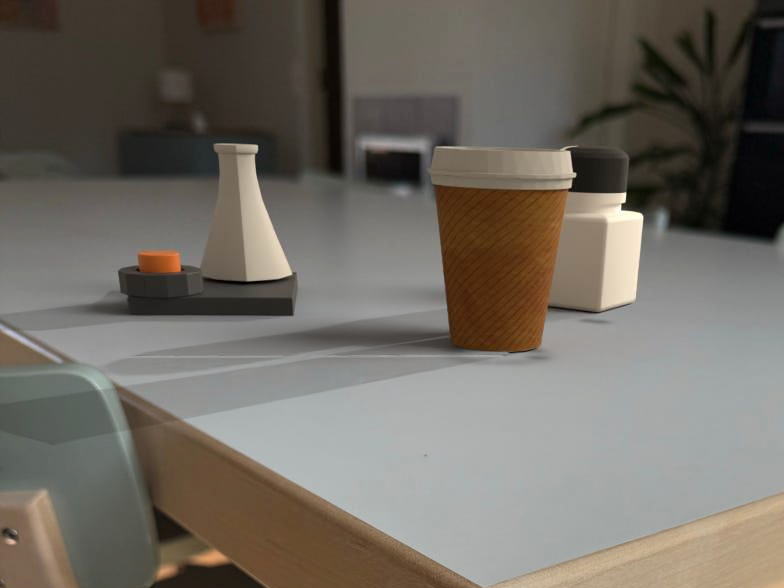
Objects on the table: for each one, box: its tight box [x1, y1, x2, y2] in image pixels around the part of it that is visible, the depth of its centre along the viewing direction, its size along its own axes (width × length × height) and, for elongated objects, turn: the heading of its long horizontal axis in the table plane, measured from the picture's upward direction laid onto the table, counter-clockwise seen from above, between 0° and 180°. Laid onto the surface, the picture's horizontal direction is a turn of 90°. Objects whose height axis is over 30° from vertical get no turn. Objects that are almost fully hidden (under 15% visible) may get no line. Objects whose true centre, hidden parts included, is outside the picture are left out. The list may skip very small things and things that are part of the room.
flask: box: [199, 143, 293, 282], centre depth 80 cm, size 7×7×10 cm
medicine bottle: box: [548, 145, 644, 313], centre depth 81 cm, size 7×7×12 cm
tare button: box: [137, 250, 181, 273], centre depth 74 cm, size 3×3×2 cm
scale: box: [117, 264, 299, 317], centre depth 79 cm, size 13×14×3 cm
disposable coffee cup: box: [426, 145, 576, 353], centre depth 65 cm, size 10×10×12 cm
